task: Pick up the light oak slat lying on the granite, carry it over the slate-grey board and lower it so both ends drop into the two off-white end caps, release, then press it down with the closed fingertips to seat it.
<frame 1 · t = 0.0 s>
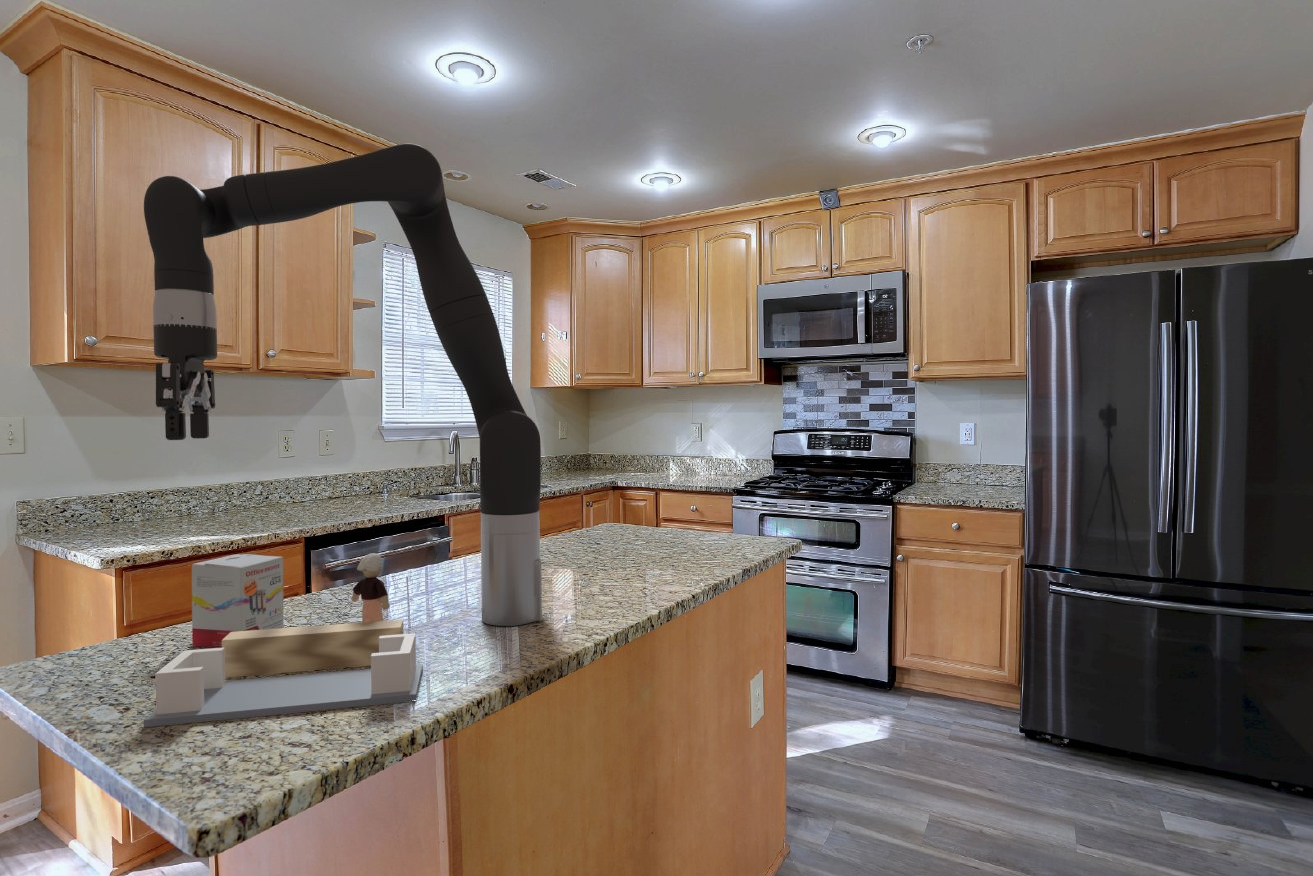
hand: (188, 439, 100), 29 cm above the countertop, fingers open, 8 cm apart
oak slat: (317, 667, 92), on the countertop
ink box: (240, 640, 103), on the countertop
end-cap board: (297, 696, 82), on the countertop
grandmother figurine: (372, 641, 102), on the countertop
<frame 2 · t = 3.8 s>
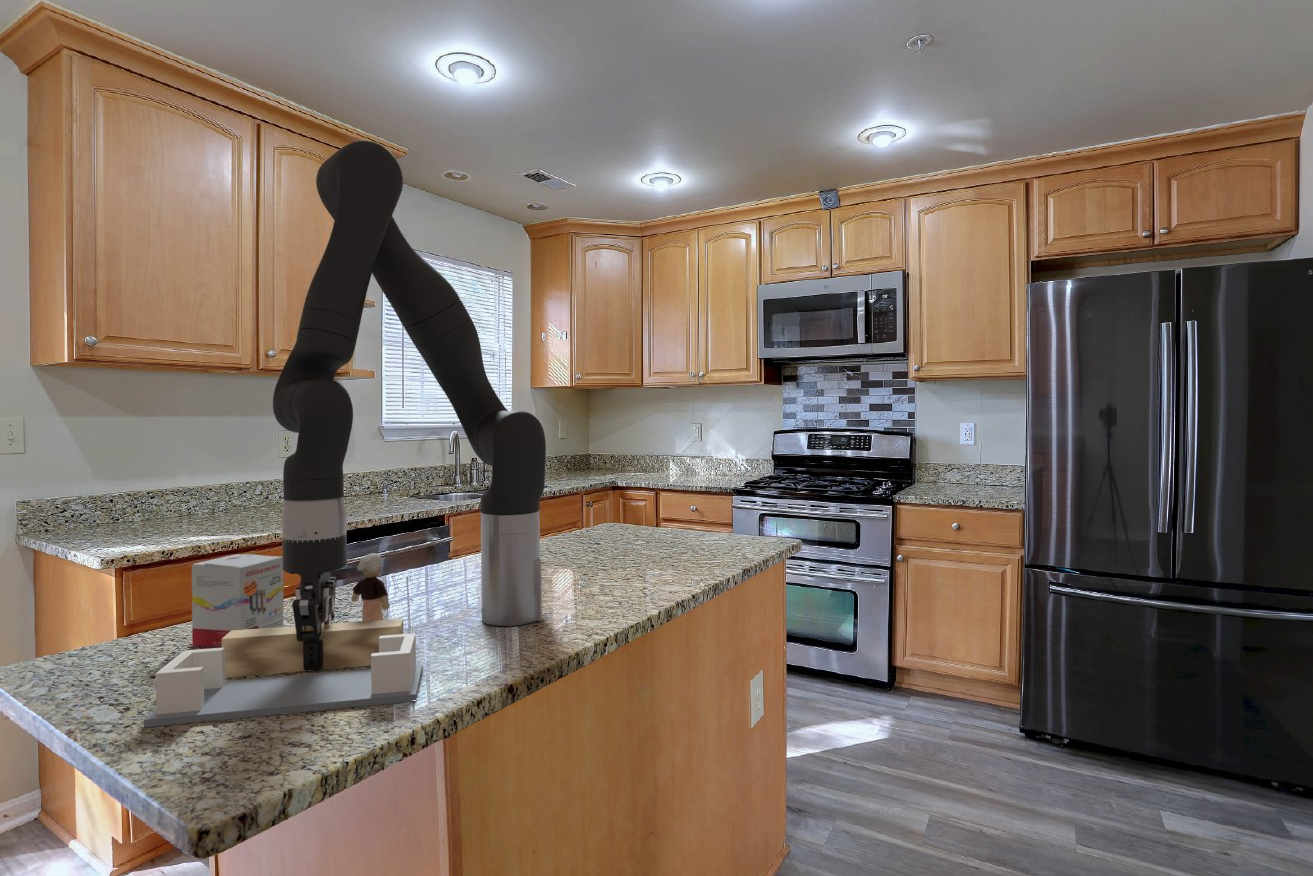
hand: (317, 663, 92), 0 cm above the countertop, fingers closed on oak slat, 3 cm apart
oak slat: (317, 666, 92), on the countertop, touching gripper
everything else where it was.
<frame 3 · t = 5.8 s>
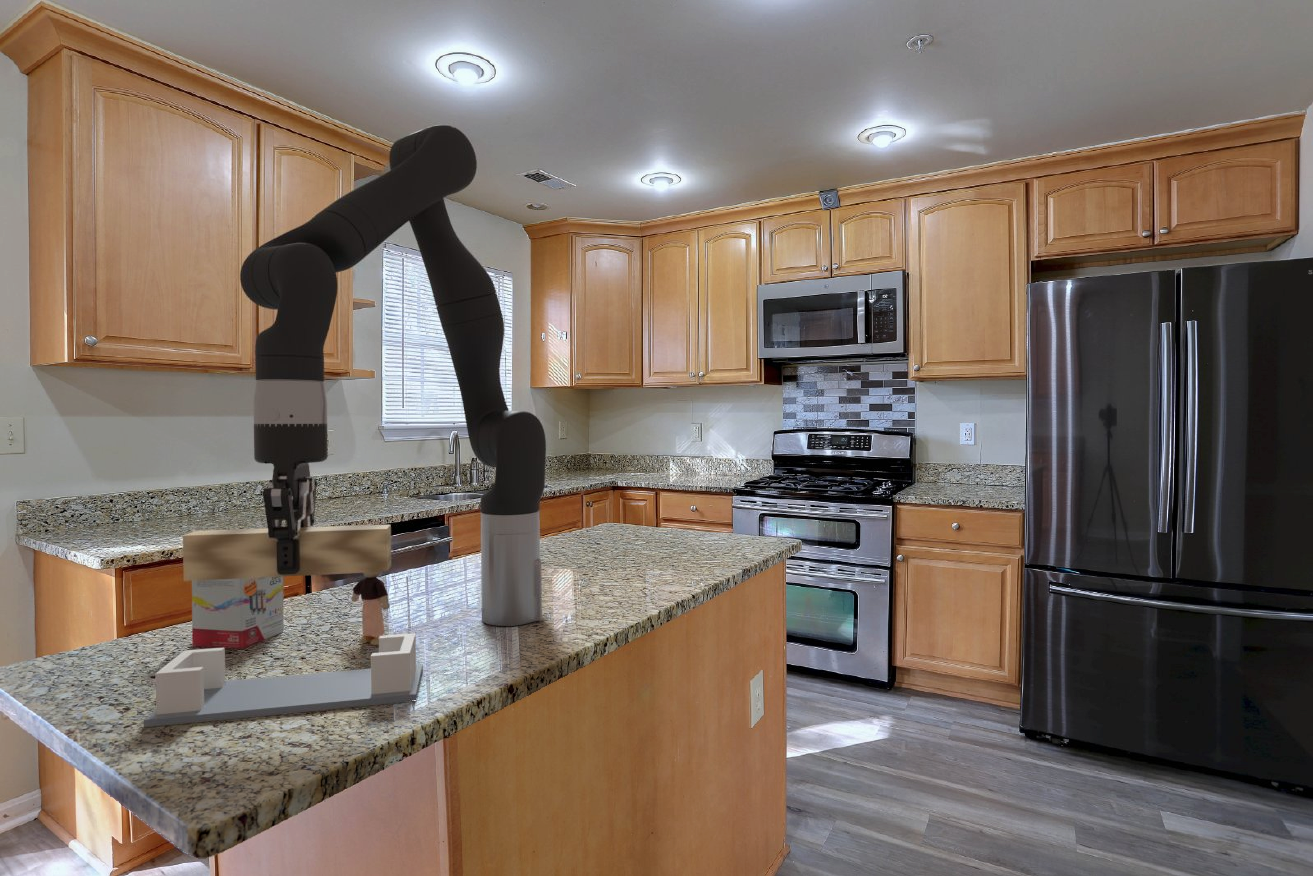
hand: (293, 569, 81), 15 cm above the countertop, fingers closed on oak slat, 3 cm apart
oak slat: (292, 572, 81), point 14 cm above the countertop, touching gripper
everything else where it was.
when the fingers open (2 cm above the countertop, at t = 7.8 s): oak slat stays where it is, resting on end-cap board.
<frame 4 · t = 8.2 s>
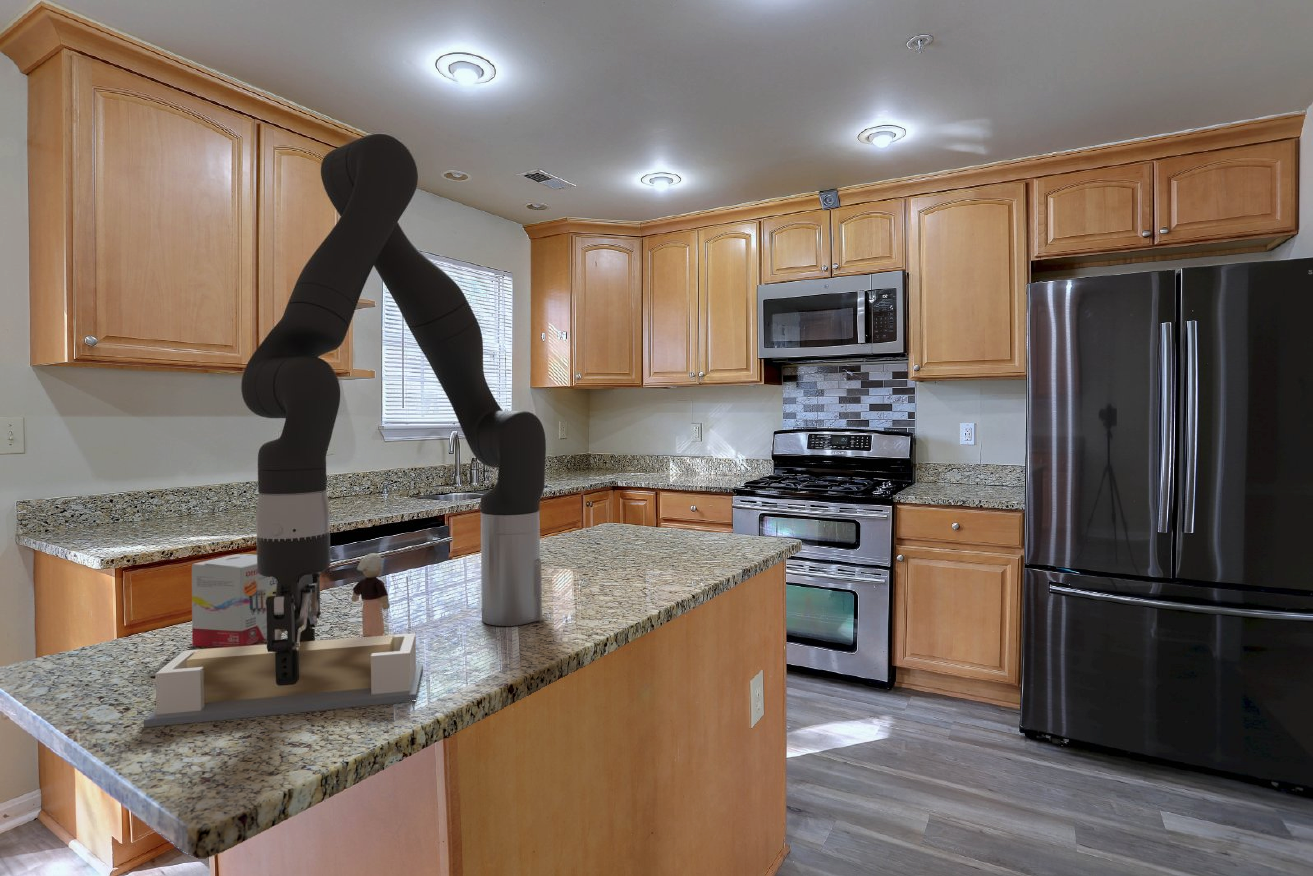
hand: (296, 671, 81), 3 cm above the countertop, fingers open, 7 cm apart
oak slat: (296, 689, 81), point 1 cm above the countertop, touching end-cap board
everything else where it was.
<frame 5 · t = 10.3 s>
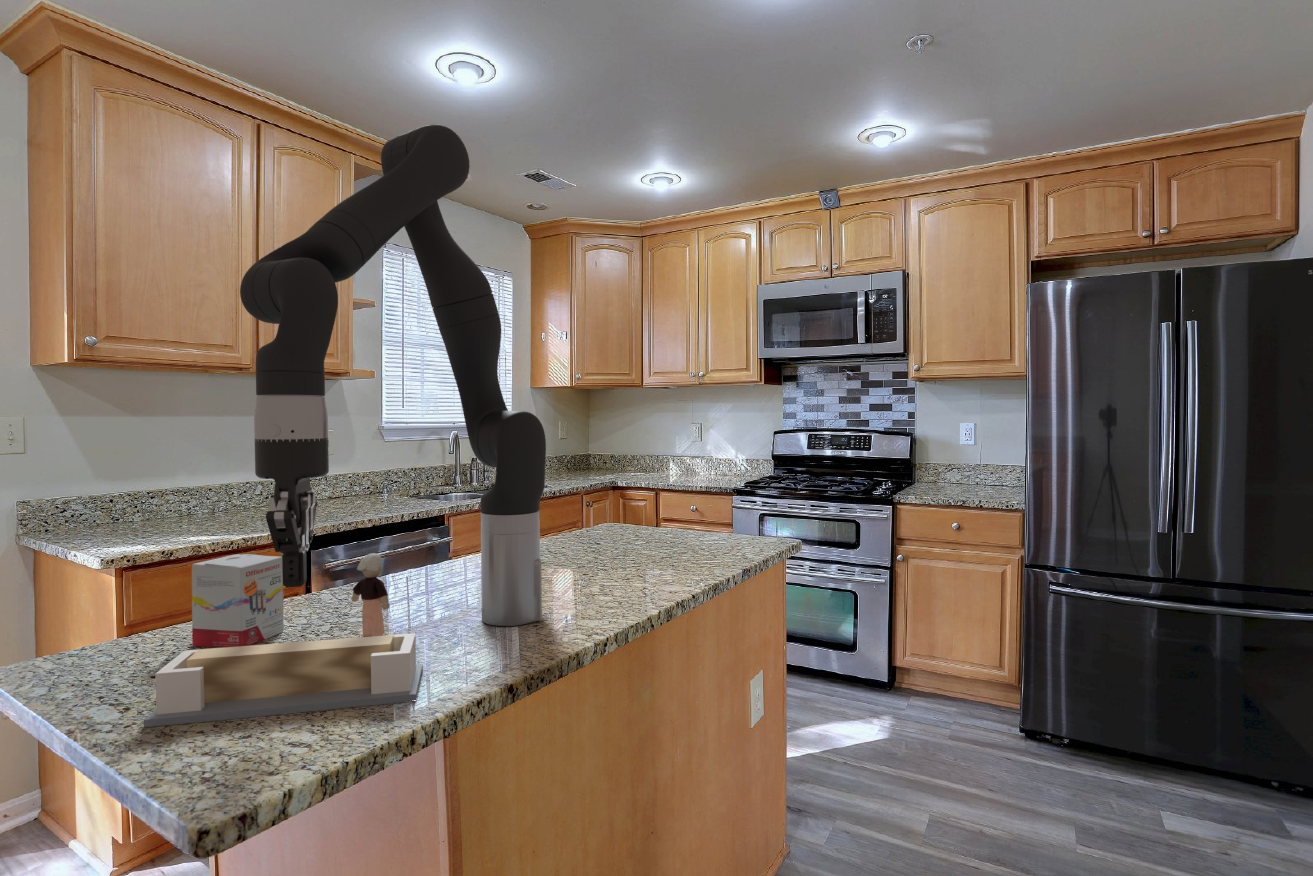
hand: (295, 585, 81), 13 cm above the countertop, fingers closed
nothing on the countertop moved.
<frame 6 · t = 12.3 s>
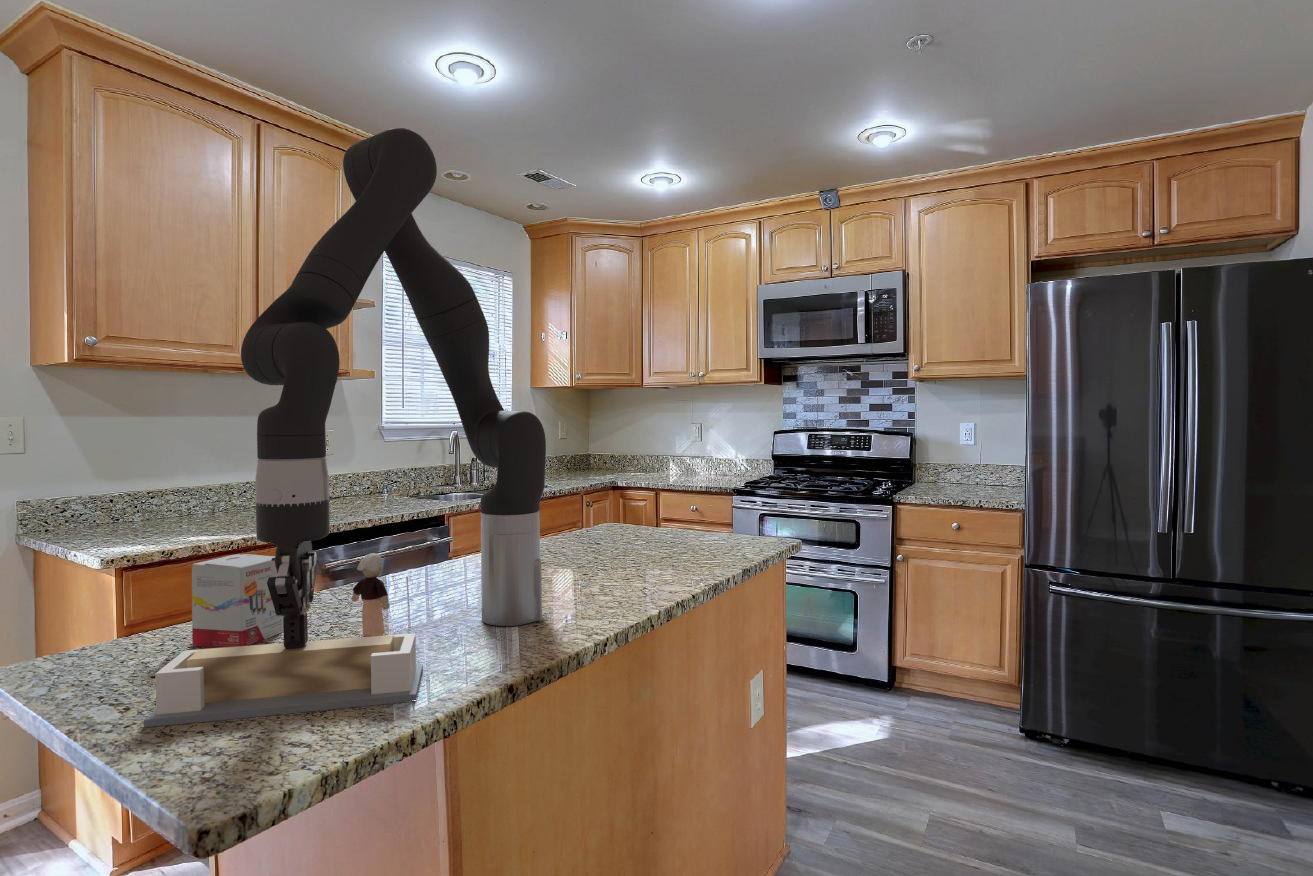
hand: (296, 646, 81), 6 cm above the countertop, fingers closed
oak slat: (296, 689, 81), point 1 cm above the countertop, touching end-cap board, gripper
everything else where it was.
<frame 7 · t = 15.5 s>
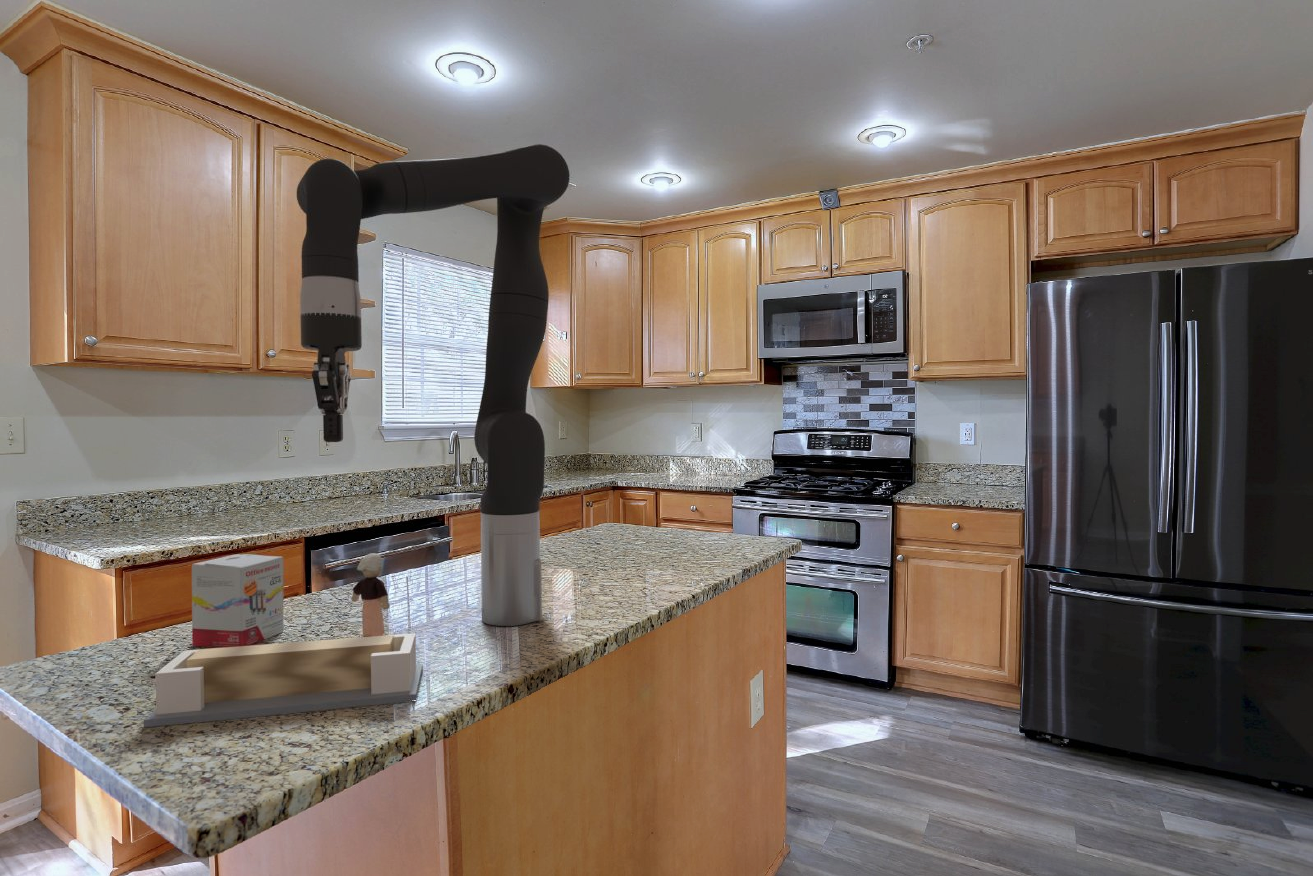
hand: (333, 441, 96), 29 cm above the countertop, fingers closed
oak slat: (296, 689, 81), point 1 cm above the countertop, touching end-cap board
everything else where it was.
at the end: oak slat 0.1 cm off-centre on the end-cap board, point 0.8 cm above the end-cap board's base; oak slat tilted 0°; the gripper is holding nothing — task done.
